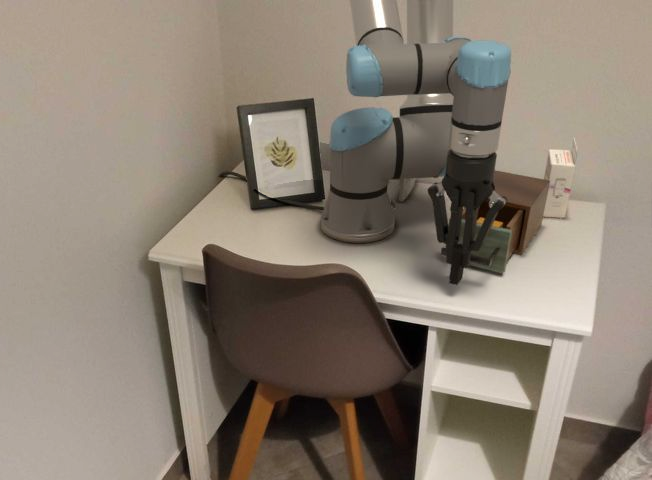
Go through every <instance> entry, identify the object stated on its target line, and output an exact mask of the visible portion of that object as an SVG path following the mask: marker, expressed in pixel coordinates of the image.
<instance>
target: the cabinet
mask: <svg viewBox="0 0 652 480" xmlns="http://www.w3.org/2000/svg"><path fill="white" fill-rule="evenodd" d="M493 182H494V185H495V192H496V193H497V194H499V195H500V196H501V197H502V196H505V197H506V198H507V202H506V203H505V205H504V206H509V207H514V208H519V209H524V210H526V212H525V218H524V223H523V228H522V234H521V239H520V243H519V244H518V246H517V247H516V249H515V250H514V252H513V253H512V254H515V255H519V256H523V254H524V252H526V249H527V248H528V247H529V245H530V244H531V242H532V241H533V240H534V238H535V237H536V235H537V234H538V232H539V231H540V229H541V228H542V223H543V219H544V217H543V214H544V209H545V204H546V200H547V195H548V190H549V184H550V181H549V180H544V178H538V177H533V176H528V175H521V174H518V173H511V172H506V171H502V170H501V171H500V170H496V169H495V171H494V177H493ZM485 202H490V198H488V199H486V200H485ZM464 208H465V207H463V209H464Z"/></svg>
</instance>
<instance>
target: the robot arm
mask: <svg viewBox="0 0 652 480" xmlns="http://www.w3.org/2000/svg"><path fill="white" fill-rule="evenodd" d="M349 4H350V11H351V18H352V19H351V20H352V25H353V32H354V40H355V45H354V46H351V47H350V48H349V49H348V50H347V53H346V60H345V61H346V62H345V64H346V65H345V67H346V68H345V73H346V74H345V75H346V85H347V90H348V93H350V95H352V96H353V97H360V98H361V97H362V98H379V97H396V96H407V97H406V98H405V99H406V100H404V101H403V103H402V104H401V105H400V106H399V116H397V117H395V116H394V117H393V114H392V113H391V110H388V109H386V108H384V107H375V106H373V107H371V106H368V107H360V108H355V109H352V110H349V111H346V112H343V113H341V115H338V116H337V117H336V118H335V119H334V120H333V122H332V123H331V126H330V133H329V142H328V147H329V193H328V196H327V199H326V201H325V205H324V206H321V205H320V206H319V205H313V204H308V203H303V202H299V201H293V200H289V199H286V200H280V201H279V202H280V203H284V204H287V205H291V206H296V207H301V208H306V209H310V210H311V209H312V210H315V211H316V210H317V211H322V213H321V216H320V228H321V231H322V232H323V234H325V235H326V236H327V237H329V238H331V239H333V240H335V241H336V240H337V241H340V242H344V243H351V244H352V243H353V244H366V243H372V242H377V241H381V240H383V239H385V238H387V237H388V236H390V235H391V234H392V233H393V232H394V230H395V223H396V218H395V213H394V211H396V208H397V204H396V202H395V201H394V200H393V198H390V196H389V192H388V189H389V180H400V179H410V178H415V179H431V178H433V179H438V178H442V179H441V181H439V182H437V181H435V182H433V184H431V185H430V186H429V187H428V189H427V194H428V196H429V198H430V200H431V202H432V210H433V216H434V217H433V218H434V224H435V231H436V238H437V242H438V243H440V244H444V245H445V246H446V245H447V247H448V249H447V258H446V259H445V263H446V264H448V265H450V271H449V278H448V284H449V285H454V286H458V285H459V284H460V282H462V280H463V277H464V272H465V271H464V270H465V269H467V267H468V266H470V265H469V263H470V260H471V253H472V251H479V250H480V248H481V247H482V246H483V245H484V243H485V241H486V238H487V236H488V234H489V232H490V229H491V227H492V225H493V223H494V220H495V218H496V216H497V214H498V211H499V210H500V209H501V208H502V207H503V206H504V205H505V203H506V202H507V198H506V197H505V196H502V197H501V196H500V195H499V194H497V193H496V192H495V185H494V182H493V177H494V171H495V170H496V163H497V157H498V155H497V151H498V150H499V146H500V145H499V143H500V137H501V129H502V122H503V116H504V110H505V103H506V97H507V91H508V84H509V79H510V77H511V72H512V71H511V62H512V50H511V48H510V46H508V45H507V44H506V43H503V42H499V41H497V40H489V39H488V40H487V39H486V40H485V39H479V40H472V39H470V38H468V37H466V36H461V35H454V0H406V43H404V35H403V30H402V24H401V18H400V13H399V7H398V1H397V0H349ZM226 175H228V176H229V175H230V176H233V177H237V178H239V179H241V180H243V181H246V177H247V176H245V175H243V174H241V173H238V172H235V171H232V170H231V171H230V170H226V171H222V172H220V173H219V174H218V178H222V177H224V176H226ZM445 194H446V196H447V197H448V199H449V201H450V216H449V218H448V213H447V204H446V198H445ZM488 198H490V202H489V207H490V210H489V211H488V213H487V215H486V217H485V219H484V222H483V224H482V226H481V229H480V231H479V233H478V236H477V238H476V240H475V241H474V238H475V230H476V223H477V216H478V210H479V207H480V205H481V204H482V203H483V202H484V201H485V200H486V199H488ZM464 207H465V208H466V212H465V214H466V219H465V227H464V235H463V243H462V244H458V242H459V241H460V239H459V237H460V229H461V221H462V214H463V209H464ZM393 209H394V211H393ZM449 219H450V225H449V227H448V224H449Z"/></svg>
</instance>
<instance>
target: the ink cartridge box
mask: <svg viewBox="0 0 652 480" xmlns="http://www.w3.org/2000/svg"><path fill="white" fill-rule="evenodd" d="M572 137H573V138H572V147H571V149H553V148H552V149H551V148H549V150H548V152H547V158H546V165H545V170H544V175H543V179H544V180H549V181H550V184H549V190H548V195H547V200H546V204H545V209H544V214H543V218H559V219H565V218H566V216H567V215H566V214H567V211H568V205H569V201H570V195H571V191H572V187H573V182H574V178H575V172H576V166H577V159H578V154H579V153H578V151H579V150H578V145H577V141H576V138H575V136H572Z"/></svg>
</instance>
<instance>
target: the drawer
mask: <svg viewBox="0 0 652 480" xmlns="http://www.w3.org/2000/svg"><path fill="white" fill-rule="evenodd" d="M489 210H490V207H489V202H485V201H484V202H483V203H482V204H481V205H480V207H479V210H478V216H477V220H478V219H479V218H480V217H482V218H485V217H486V215H487V213H488V211H489ZM465 212H466V208H464V207H463V214H462V221H461V229H460V237H459V239H460V241H459V242H458V244H462V243H463V235H464V227H465V219H466V214H465ZM525 212H526V210H524V209H519V208H514V207H509V206H503V207H502V208H501V209H500V210H499V211H498V214H497V216H496V218H495V220H494V221H498V222H503V227H502V228H500V227H496V226H492V227H491V229H490V232H489V234H488V236H487V238H486V241H485V243H484V245H483V246H482V247H481V248H480V250H479V251H472V253H471V260H470V263H469V265H468V266H471V267H475V268H480V269H483V270H488V271H491V272H495V273H499V274H504V273H505V272H506V269H507V263H508V260H509V259H510V258H511V256H512V254H514V253H513V252H514V250H515V249H516V247H517V246H518V244H519V243H520V239H521V234H522V228H523V223H524V218H525ZM449 225H450V218H448V227H449ZM481 226H482V223H478V222H477V223H476V230H475V238H474V241H475V240H476V238H477V236H478V233H479V231H480V229H481ZM447 249H448V247H447V245H446V244H445V247H442V248H441V250H440V256H444V260H446V258H447Z"/></svg>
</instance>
